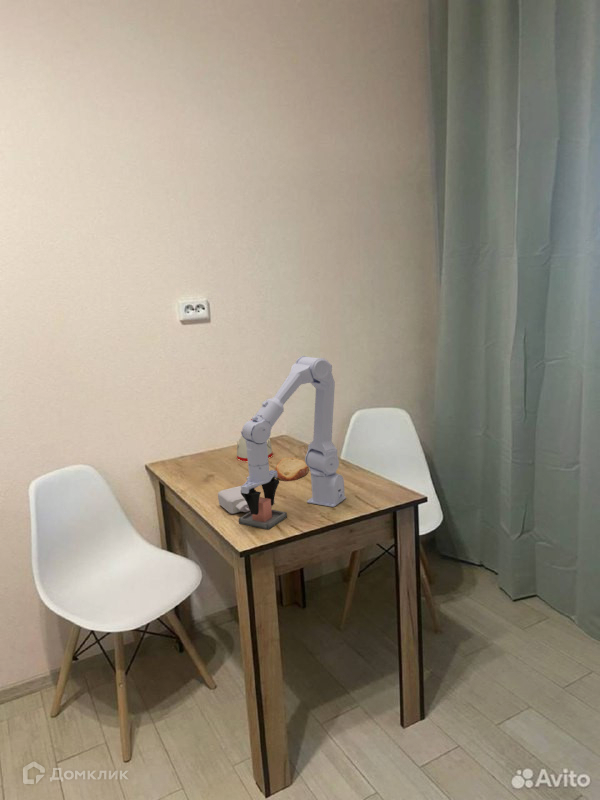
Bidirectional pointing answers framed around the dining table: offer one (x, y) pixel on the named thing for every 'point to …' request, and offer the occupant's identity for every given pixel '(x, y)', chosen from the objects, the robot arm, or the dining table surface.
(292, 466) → the bread slice
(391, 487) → the dining table surface
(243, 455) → the kitchen timer
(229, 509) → the charger
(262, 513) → the salmon gift carton
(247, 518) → the tray
